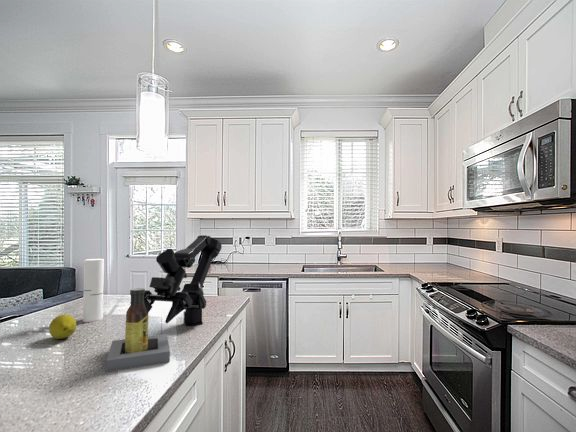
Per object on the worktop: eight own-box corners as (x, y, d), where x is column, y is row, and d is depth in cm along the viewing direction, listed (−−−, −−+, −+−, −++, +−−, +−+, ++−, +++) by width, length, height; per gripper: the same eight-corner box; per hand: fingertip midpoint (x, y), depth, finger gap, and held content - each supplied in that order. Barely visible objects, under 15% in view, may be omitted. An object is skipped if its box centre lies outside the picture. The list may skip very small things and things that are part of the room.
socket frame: (166, 343, 105) (166, 333, 106) (169, 361, 91) (169, 351, 91) (112, 350, 99) (112, 340, 99) (106, 371, 84) (106, 360, 84)
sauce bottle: (147, 357, 94) (148, 290, 94) (123, 361, 91) (125, 292, 92) (148, 349, 100) (149, 286, 100) (126, 352, 97) (127, 287, 98)
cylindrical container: (88, 317, 135) (90, 258, 136) (105, 316, 136) (107, 258, 137) (78, 322, 128) (80, 260, 129) (97, 321, 129) (98, 260, 130)
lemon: (50, 335, 112) (51, 313, 112) (77, 332, 116) (77, 310, 116) (45, 345, 103) (46, 321, 103) (74, 341, 107) (75, 317, 107)
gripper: (139, 266, 109) (115, 307, 98) (188, 268, 105) (169, 310, 94) (152, 285, 116) (132, 324, 105) (199, 287, 113) (183, 328, 102)
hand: (153, 321), depth 101 cm, fingers open, 9 cm apart
